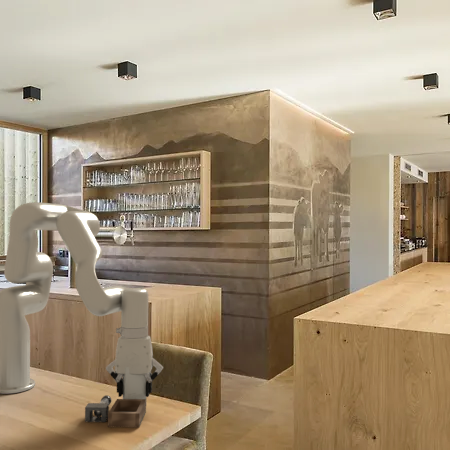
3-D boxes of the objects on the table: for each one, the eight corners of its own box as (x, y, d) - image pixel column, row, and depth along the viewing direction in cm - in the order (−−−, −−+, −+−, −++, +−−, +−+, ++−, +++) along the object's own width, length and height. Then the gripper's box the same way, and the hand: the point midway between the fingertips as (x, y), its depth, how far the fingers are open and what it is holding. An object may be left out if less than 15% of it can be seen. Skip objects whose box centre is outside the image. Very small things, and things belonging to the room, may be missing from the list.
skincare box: (142, 402, 139) (143, 360, 139) (147, 407, 134) (147, 364, 135) (121, 405, 136) (121, 362, 136) (125, 410, 132) (125, 367, 132)
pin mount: (85, 422, 124) (85, 407, 124) (88, 417, 127) (88, 403, 127) (105, 422, 124) (105, 407, 124) (108, 417, 127) (108, 403, 127)
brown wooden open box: (107, 427, 121) (107, 413, 121) (116, 411, 131) (117, 399, 131) (139, 427, 121) (139, 413, 121) (145, 412, 131) (146, 399, 131)
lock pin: (92, 417, 127) (92, 407, 127) (101, 405, 136) (101, 395, 136) (103, 417, 127) (103, 407, 127) (111, 405, 136) (111, 395, 136)
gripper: (100, 335, 131) (100, 399, 131) (163, 335, 131) (163, 400, 131) (107, 329, 139) (107, 390, 139) (167, 329, 139) (166, 390, 139)
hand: (134, 394), depth 135 cm, fingers closed on skincare box, 7 cm apart
